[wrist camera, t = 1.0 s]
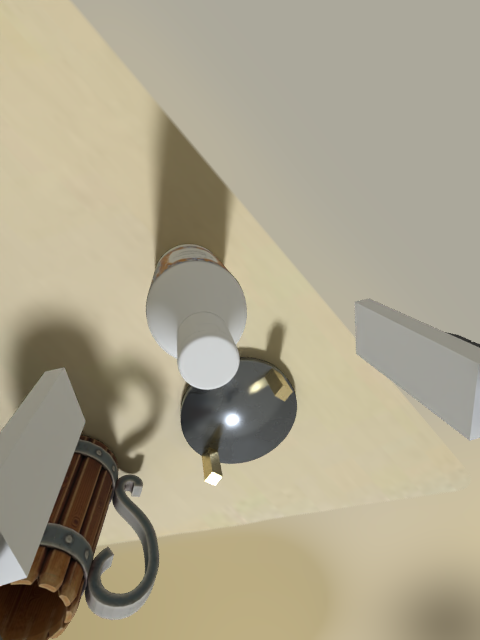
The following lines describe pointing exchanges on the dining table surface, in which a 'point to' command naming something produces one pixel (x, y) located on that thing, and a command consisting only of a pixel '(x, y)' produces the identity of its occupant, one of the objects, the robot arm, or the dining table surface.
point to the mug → (79, 552)
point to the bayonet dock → (239, 416)
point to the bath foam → (197, 315)
